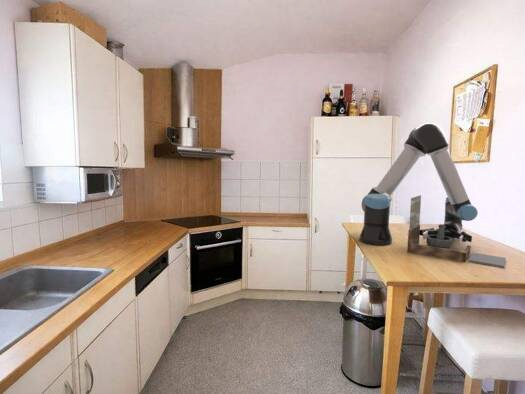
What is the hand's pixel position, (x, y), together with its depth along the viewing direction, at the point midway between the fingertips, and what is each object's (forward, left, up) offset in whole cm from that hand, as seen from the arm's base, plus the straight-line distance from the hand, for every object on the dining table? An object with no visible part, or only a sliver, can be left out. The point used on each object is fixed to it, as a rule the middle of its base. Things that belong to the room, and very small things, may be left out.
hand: (441, 238), depth 128 cm
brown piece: (-1, +1, -6) cm, 6 cm away
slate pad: (+16, +1, -6) cm, 17 cm away
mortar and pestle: (-1, +1, -7) cm, 7 cm away
